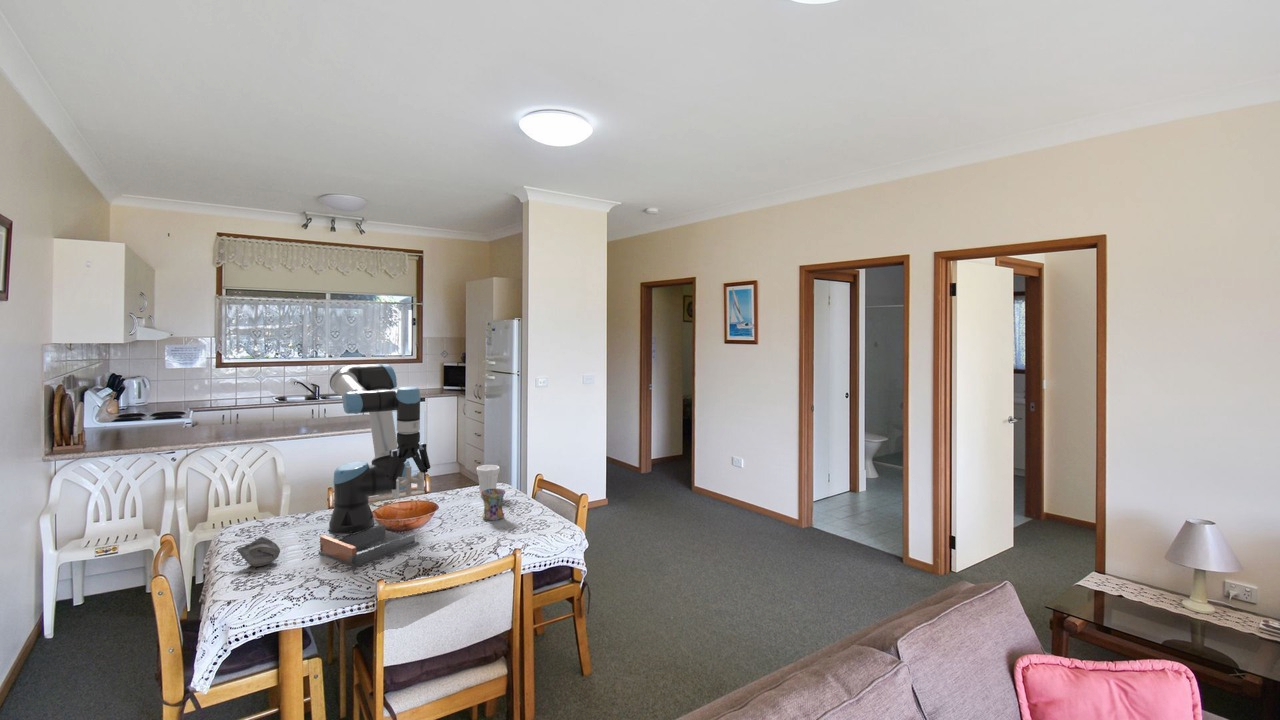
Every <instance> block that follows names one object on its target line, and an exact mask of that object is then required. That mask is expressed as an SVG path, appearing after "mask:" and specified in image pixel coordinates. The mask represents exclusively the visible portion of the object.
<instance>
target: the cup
mask: <svg viewBox="0 0 1280 720" xmlns="http://www.w3.org/2000/svg"><path fill="white" fill-rule="evenodd" d="M500 470H501V469H500V466H499V465H496V464H483V465H479V466H477V467H476V474H477V478H478V484H479V491H480V497H481V498H483V497H482V494H481V492H482V491H483V490H486V489H494V488H497V485H498V478H499V473H500Z"/></svg>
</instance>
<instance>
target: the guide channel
mask: <svg viewBox="0 0 1280 720" xmlns="http://www.w3.org/2000/svg"><path fill="white" fill-rule="evenodd" d="M415 535H416V534H415V533H409V534H407V535H401V534H399V533H395V532H393V531H391V530H386V524H384V523H381V524H378V525H376V526H373V527H372V526H371V527H369V528H367V529H364V530H361V531H357V532H352V533H350V534H346V535H344V536H339V537H337V538H334V537H330V536H328V535H325V534H324V535H321V536H320V537H319V540H320V542H319V545H320V547H319V548H320V549H319V550H318V554H319V555H322V556H324V557H326V558H328V559H332V560H333V561H336V562H339V563H341V564H344V565H346V566H349V567H350V568H353V569H356V568H359V567H361V566H363V565H366V564H368V563H371V562H375V561H376V560H379V559H380V560H381V559H383V558H385V557H387V556H388V557H389V556H390V555H393V554H396V553H399V552H401V551H403V550H406V549H410V548H412V547H416V546H417V545H420V541H419V540H417V539H415V537H416V536H415Z"/></svg>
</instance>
